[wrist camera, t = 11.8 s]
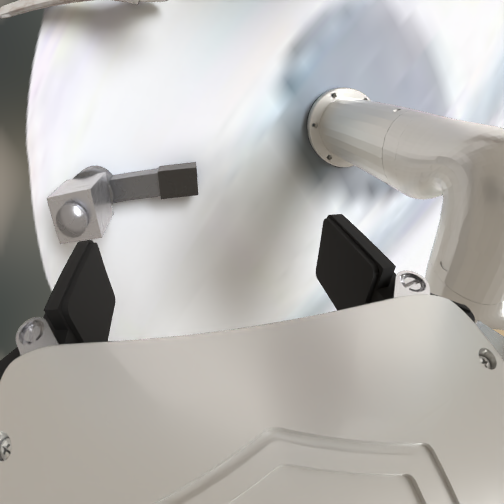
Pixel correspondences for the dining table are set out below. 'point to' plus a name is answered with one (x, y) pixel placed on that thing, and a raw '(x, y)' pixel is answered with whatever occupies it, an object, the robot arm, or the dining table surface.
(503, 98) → the dining table surface
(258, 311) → the dining table surface
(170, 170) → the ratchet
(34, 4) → the wrench
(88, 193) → the cube with metal dome
